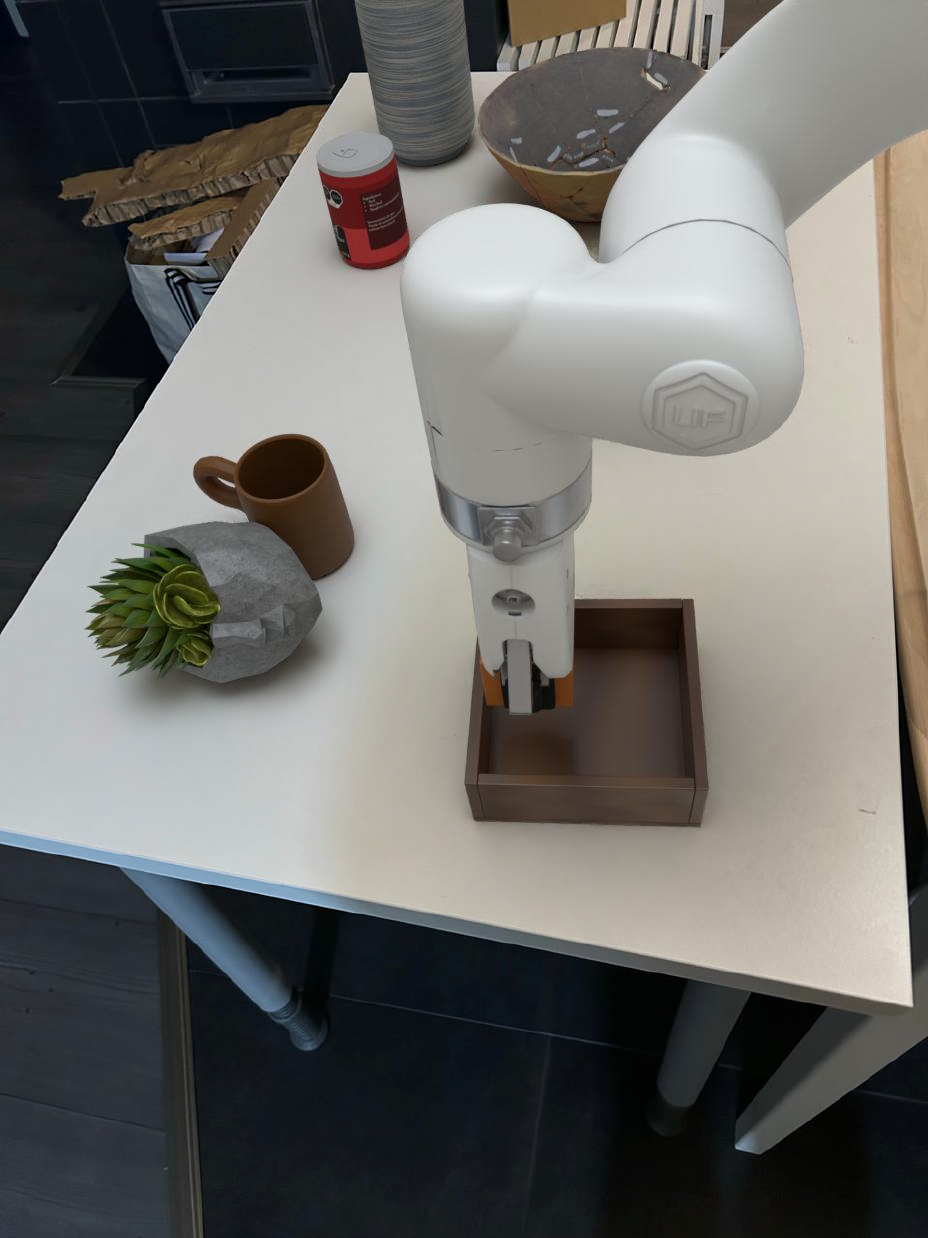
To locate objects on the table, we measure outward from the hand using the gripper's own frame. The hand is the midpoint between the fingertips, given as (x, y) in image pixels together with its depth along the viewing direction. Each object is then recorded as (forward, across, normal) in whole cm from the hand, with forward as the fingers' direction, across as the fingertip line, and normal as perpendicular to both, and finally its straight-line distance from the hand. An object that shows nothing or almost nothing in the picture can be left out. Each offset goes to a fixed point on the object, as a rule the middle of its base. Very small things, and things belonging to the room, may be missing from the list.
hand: (531, 676), depth 59 cm
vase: (+7, +80, +16) cm, 82 cm away
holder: (+7, 0, -3) cm, 8 cm away
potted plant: (+7, +6, +23) cm, 25 cm away
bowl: (+7, +67, -4) cm, 68 cm away
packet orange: (+1, 0, 0) cm, 1 cm away
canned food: (+7, +59, +20) cm, 63 cm away
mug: (+7, +17, +21) cm, 28 cm away
